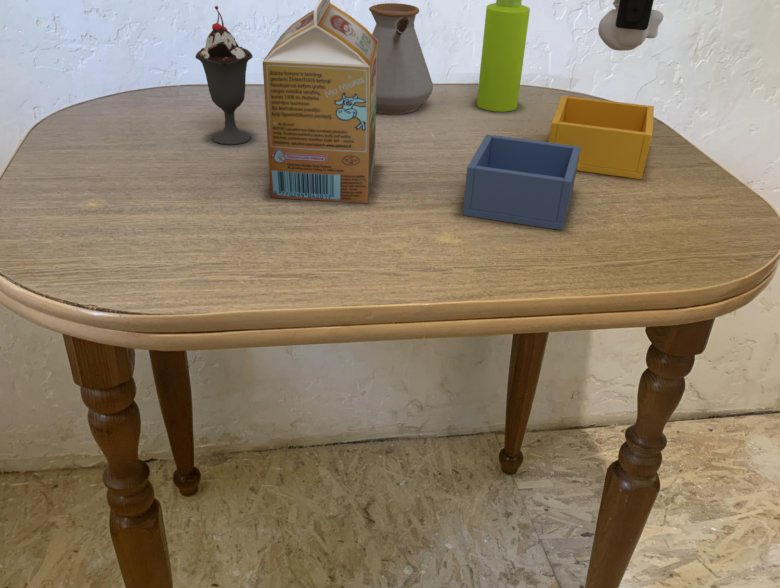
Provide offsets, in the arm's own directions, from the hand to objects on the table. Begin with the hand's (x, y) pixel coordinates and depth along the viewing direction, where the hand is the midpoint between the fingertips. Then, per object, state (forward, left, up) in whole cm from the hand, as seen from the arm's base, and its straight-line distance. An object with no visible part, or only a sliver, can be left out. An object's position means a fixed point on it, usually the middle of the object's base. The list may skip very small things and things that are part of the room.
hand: (631, 20), depth 81 cm
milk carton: (+30, +12, -18) cm, 37 cm away
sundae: (+46, +3, -18) cm, 49 cm away
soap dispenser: (+16, -24, -18) cm, 34 cm away
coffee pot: (+29, -13, -18) cm, 36 cm away
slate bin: (+8, +10, -17) cm, 22 cm away
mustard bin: (+1, -8, -17) cm, 19 cm away
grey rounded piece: (0, 0, -3) cm, 3 cm away
